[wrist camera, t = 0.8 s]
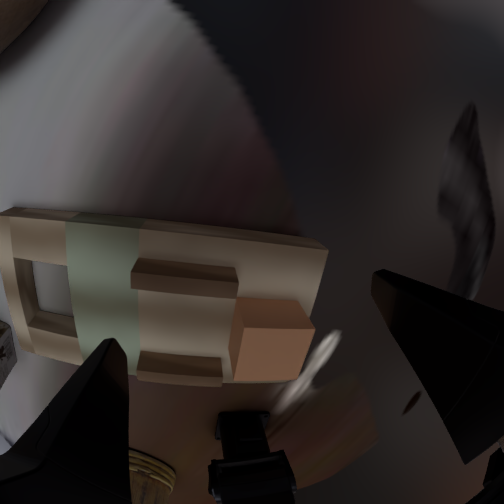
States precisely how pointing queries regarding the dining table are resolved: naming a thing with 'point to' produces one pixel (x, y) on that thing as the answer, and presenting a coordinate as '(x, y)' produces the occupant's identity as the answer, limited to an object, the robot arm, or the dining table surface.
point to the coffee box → (6, 352)
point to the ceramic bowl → (16, 18)
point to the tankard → (149, 479)
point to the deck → (149, 287)
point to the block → (268, 339)
